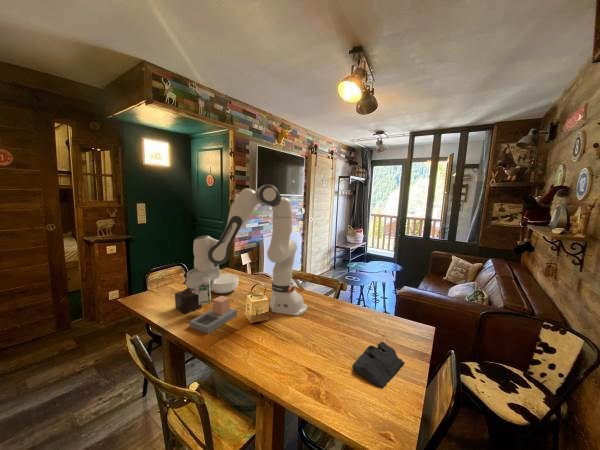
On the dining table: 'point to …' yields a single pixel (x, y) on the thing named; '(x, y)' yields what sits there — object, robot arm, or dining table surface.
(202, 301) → the syrup box
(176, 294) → the manual coffee grinder
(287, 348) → the dining table surface
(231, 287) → the bowl
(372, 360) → the dark slate chunk
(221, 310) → the tray
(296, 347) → the dining table surface
